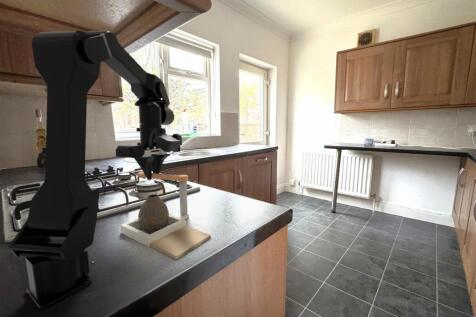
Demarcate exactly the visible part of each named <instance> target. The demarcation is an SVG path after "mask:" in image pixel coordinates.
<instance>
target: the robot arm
mask: <svg viewBox="0 0 476 317" xmlns="http://www.w3.org/2000/svg"><path fill="white" fill-rule="evenodd" d="M31 47H32V53H33V54H32V55H33V62H34V67H35V69H36V71H37V72H38V74H39V75H40V77H41V79H42V81H43V82H44V83H45V85H46V94H47V95H46V125H45V126H46V128H45V130H46V133H45V163H44V168H45V170H44V180H43V183H42V184H41V186H40V187H39V188H38V189H37V190H36V192H35V193H34V195H33V197H32V198H31V201H30V206H29V210H28V215H27V219H26V221H25V222H24V223H23V225H22V226H21V228H20V230H18V232H17V234H16V235H15V236H14V238H13V239H12V241H11V243H9V245H8V250H9V251H10V253H11V254H12V255H13V256H14V258H15V257H16V258H20V257H23V258H25V264H26V269H27V277H28V284H29V286H27V287H26V289H25V290H26V293H27V294H28V295H29V297H30V298H31V299H32V300H33V301H34V303H35V304H36V306H37V307H38V308H39V309H40V310H43V309H45V308H47V307H49V306H51V305H53V304H55V303H57V302H59V301H60V300H62V299H64V298H65V297H68V296H70V295H72V294H73V293H75V292H78V290H81V289H82V288H85V287H86V286H89V285H90V284H91V283H93V278H92V277H90V276H89V274H90V273H91V270H90V269H91V268H90V267H91V266H90V258H89V257H90V256H89V251H88V250H87V249H88V248H90V247H91V246H92V245H93V243H94V239H95V238H94V237H95V232H96V231H95V230H96V227H97V226H96V225H97V221H98V213H100V212H101V210H100V207H99V199H100V191H99V189H98V188H92V187H90V186H89V183H88V182H87V180H86V149H87V148H86V147H87V146H86V143H87V113H88V112H87V109H88V107H87V105H88V104H87V102H88V92H89V91H90V90H91V88H92V87H93V86H94V84H95V83H96V81H97V80H98V79H99V76H100V70H101V64H102V63H104V64H106V65H107V66H108V67H109V68H110V69H112V70H113V71H114V72H115V73H116V74H117V75H119V76H120V78H122V79H123V80H125V81H126V82H127V83H128V84H129V85H130V91H131V92H132V94H134V96H135V97H136V98H137V99H138V100H137V101H136V102H135V103H134V106H136V107H138V118H139V127H136V132H138V133H139V137H140V138H139V140H140V142H137V143H136V144H124V145H123V144H122V145H117V147H116V148H115V157H117V158H128V159H129V158H130V159H134V160H135V162H136V163H137V164H138V167H139V168H140V169H141V170H142V171H141V172H143V173H144V174H145V176H146V178H145V179H147V180H148V181H152V178H151V177H152V173H157V174H161V170H162V167H163V164H164V161H165V160H166V159H167V158H168V157H170V156H171V155H172V154H171V152H173V153H180V152H181V146H182V145H183V137H182V134H180V133H173V134H172V135H171V134H167V130H166V128H165V127H162V126H169V125H171V124H172V123H173V122H174V120H175V114H174V111H173V110H172V109H171V108H169V105H171V102H170V99H169V95H168V92H167V89H166V86H165V83H164V82H163V81H162V79H161V77H159V76H157V75H156V74H154V73H151V72H149V71H146V70H145V69H144V68H143V67H142V66H141V65H140V64H139V63H138V62H137V61H136V60H135V59H134V57H132V55H130V53H129V52H128V51H127V50H126V48H124V46H123V45H121V44H120V42H119V40H118V37H117V36H116V35H115V33H113V32H111V31H108V30H88V31H86V32H85V31H83V30H57V31H56V30H55V31H41V32H38V33H37V34H34V35H33V37H32V42H31Z"/></svg>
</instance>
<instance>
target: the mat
mask: <svg viewBox="0 0 476 317" xmlns="http://www.w3.org/2000/svg"><path fill="white" fill-rule="evenodd" d="M211 237H212V235H211V234H209V233H206V232H203V231H201V230H198V229H195V228H193V227H191V226H187V225H186V226H184V227H182V228H180V229H178V230H176V231H174V232H172V233H170V234H168V235H166V236H164V237H162V238H160V239H158V240H156V241H154V242H152V243H150V246H149V247H150V248H153V249H154V250H157V251H159V252H161V253H163V254H165V255H167V256H169V257H171V258H173V259H175V260H179V259H180V258H181V257H183V256H184V255H186V254H187V253H188V252H190V251H192V250H193V249H195V248H196V247H198V246H200V245H201V244H202V243H205V242H206V241H207V240H209V239H210V238H211Z"/></svg>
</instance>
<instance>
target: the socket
mask: <svg viewBox="0 0 476 317" xmlns="http://www.w3.org/2000/svg"><path fill="white" fill-rule="evenodd" d="M178 187H179V188H178V189H179V213H176V214H174V215H173V214H170V213H169V220H168V225H167V226H166V227H165V228H163V229H161V230H158V231H156V232H154V233H152V234H148V233H146V232H144V231H143V230H140V229H139V228H141V227H140V225H139V221H138V218H135V219H132V220H130V221H127V222H124V223H122V224H120V233H121V235H124V236H127V237H128V238H130V239H132V240H134V241H136V242H138V243H140V244H142V245H144V246H146V247H151V246H150V243H152V242H154V241H156V240H158V239H160V238H162V237H164V236H166V235H168V234H170V233H172V232H174V231H176V230H178V229H180V228H182V227H184V226H187V220H186V219H188V218H190V214H188V181H186V182H179V186H178Z"/></svg>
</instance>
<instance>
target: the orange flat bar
mask: <svg viewBox="0 0 476 317" xmlns="http://www.w3.org/2000/svg"><path fill="white" fill-rule="evenodd" d="M137 177H138V178H144V179H147V178H146V176H145V174H144V173H143V171H140V172H137ZM151 179H156V180H157V179H158V180H166V181H176V182H186V181H187V182H189V175H187V174H179V175H177V174H166V173H159V174H157V173H153V172H152V177H151Z"/></svg>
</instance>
